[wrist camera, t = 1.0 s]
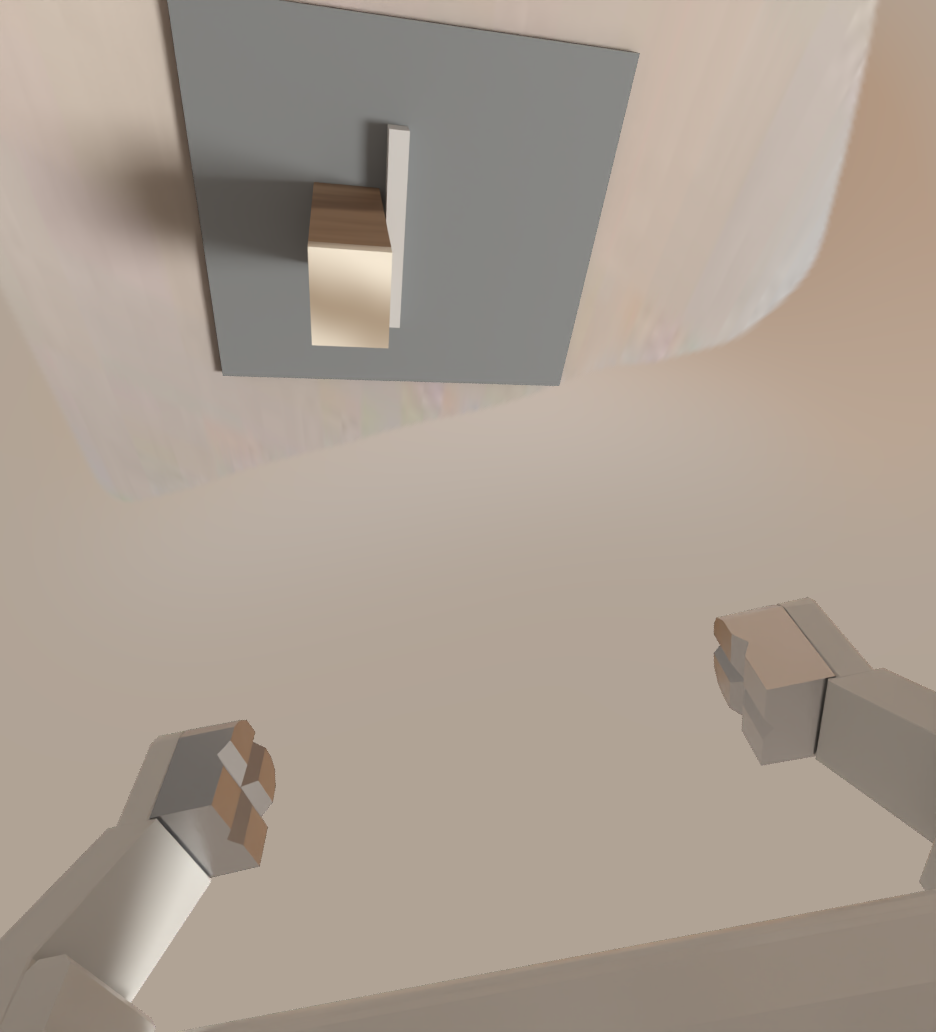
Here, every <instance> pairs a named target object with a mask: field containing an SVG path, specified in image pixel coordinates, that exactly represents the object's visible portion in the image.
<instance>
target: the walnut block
mask: <svg viewBox="0 0 936 1032" xmlns="http://www.w3.org/2000/svg"><path fill="white" fill-rule="evenodd" d="M308 268H309V291H310V313H311V336H312V345H317V346H342V347H367V348H388V347H389V323H390V299H391V275H392V248H391V243H390V239H389V234H388V229H387V224H386V219H385V214H384V209H383V204H382V200H381V195H380V190H379V188H374V187H363V186H352V185H341V184H330V183H319V182H314V185H313V195H312V206H311V216H310V226H309V237H308Z"/></svg>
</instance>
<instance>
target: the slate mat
mask: <svg viewBox="0 0 936 1032" xmlns="http://www.w3.org/2000/svg"><path fill="white" fill-rule="evenodd" d="M167 3H168V9H169V16H170V23H171V30H172V36H173V43H174V50H175V57H176V63H177V70H178V77H179V84H180V90H181V97H182V104H183V110H184V117H185V124H186V131H187V137H188V144H189V151H190V158H191V164H192V171H193V178H194V185H195V191H196V198H197V205H198V212H199V218H200V225H201V232H202V239H203V245H204V252H205V259H206V265H207V272H208V279H209V286H210V292H211V299H212V306H213V313H214V319H215V326H216V333H217V340H218V346H219V353H220V360H221V367H222V373H223V376H248V377H281V378H314V379H347V380H380V381H413V382H446V383H479V384H512V385H545V386H559V385H560V380H561V376H562V372H563V368H564V364H565V360H566V356H567V352H568V347H569V343H570V339H571V335H572V331H573V327H574V323H575V318H576V314H577V310H578V306H579V302H580V298H581V294H582V290H583V285H584V281H585V277H586V273H587V269H588V265H589V261H590V257H591V252H592V248H593V244H594V240H595V236H596V232H597V228H598V224H599V219H600V215H601V211H602V207H603V203H604V199H605V195H606V191H607V186H608V182H609V178H610V174H611V170H612V166H613V162H614V158H615V153H616V149H617V145H618V141H619V137H620V133H621V129H622V124H623V120H624V116H625V112H626V108H627V104H628V100H629V96H630V91H631V87H632V83H633V79H634V75H635V71H636V67H637V63H638V58H639V54H640V53H636V52H629V51H622V50H616V49H609V48H602V47H595V46H589V45H582V44H575V43H568V42H562V41H555V40H548V39H541V38H534V37H528V36H521V35H514V34H507V33H501V32H494V31H487V30H480V29H474V28H467V27H460V26H453V25H446V24H440V23H433V22H426V21H419V20H413V19H406V18H399V17H392V16H385V15H379V14H372V13H365V12H358V11H352V10H345V9H338V8H331V7H325V6H318V5H311V4H304V3H297V2H291V1H284V0H167ZM314 182H319V183H330V184H341V185H352V186H363V187H374V188H379V190H380V195H381V200H382V204H383V209H384V214H385V219H386V224H387V229H388V234H389V239H390V243H391V248H392V275H391V299H390V323H389V347H388V348H367V347H342V346H317V345H312V336H311V313H310V291H309V268H308V237H309V226H310V216H311V206H312V195H313V185H314Z"/></svg>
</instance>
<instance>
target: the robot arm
mask: <svg viewBox="0 0 936 1032" xmlns="http://www.w3.org/2000/svg"><path fill="white" fill-rule="evenodd" d="M714 635H715V637H716V639H717V641H718V642H719V644H720V646H719V647H718V649H717V650H716V651H715V652H714V668H715V672H716V676H717V681H718V684H719V686H720V689H721V691H722V694H723V696H724V698H725V700H726V702H727V704H728V706H729V707H730V708H731V709H732V710H734V711H736V712H737V713H739V714H741V715H742V732H743V733H744V735H745V737H746V739H747V741H748V743H749V744H750V746H751V748H752V750H753V752H754V753H755V755H756V757H757V759H758V760H759V762H760V764H761V765H766V764H772V763H778V762H784V761H790V760H796V759H802V758H807V757H813V756H816V760H818V761H819V762H821V763H822V764H823V765H825V766H826V767H828V768H829V769H830V770H832V771H833V772H834V773H836V774H837V775H839V776H840V777H841V778H843V779H845V780H846V781H847V782H848V783H850V784H851V785H853V786H854V787H855V788H857V789H858V790H860V791H861V792H862V793H864V794H865V795H867V796H868V797H869V798H871V799H872V800H874V801H875V802H876V803H878V804H879V805H881V806H882V807H883V808H885V809H886V810H887V811H889V812H891V813H892V814H893V815H894V816H896V817H897V818H899V819H900V820H901V821H903V822H904V823H906V824H907V825H908V826H910V827H911V828H913V829H914V830H915V831H917V832H918V833H919V834H921V835H922V836H924V837H925V838H927V839H928V840H929V841H931V842H932V843H933V845H932V848H931V850H930V853H929V856H928V859H927V861H926V864H925V867H924V870H923V872H922V875H921V878H920V881H919V882H920V884H921V885H922V887H923V888H924V889H925V891H921V892H916V893H910V894H905V895H900V896H895V897H889V898H884V899H879V900H873V901H868V902H863V903H857V904H852V905H847V906H841V907H836V908H831V909H825V910H821V911H815V912H810V913H805V914H799V915H794V916H788V917H783V918H778V919H772V920H767V921H762V922H756V923H751V924H746V925H740V926H735V927H730V928H724V929H719V930H714V931H708V932H703V933H698V934H693V935H688V936H682V937H677V938H672V939H666V940H661V941H656V942H650V943H645V944H640V945H634V946H630V947H623V948H618V949H613V950H608V951H602V952H597V953H591V954H586V955H581V956H575V957H570V958H565V959H559V960H554V961H549V962H544V963H538V964H533V965H528V966H522V967H517V968H512V969H506V970H501V971H496V972H490V973H485V974H480V975H475V976H469V977H464V978H458V979H453V980H448V981H442V982H437V983H432V984H427V985H422V986H416V987H411V988H405V989H400V990H395V991H389V992H384V993H379V994H373V995H369V996H363V997H358V998H352V999H347V1000H342V1001H336V1002H331V1003H326V1004H321V1005H315V1006H310V1007H305V1008H299V1009H295V1010H289V1011H284V1012H278V1013H273V1014H267V1015H262V1016H257V1017H252V1018H246V1019H241V1020H236V1021H230V1022H226V1023H220V1024H215V1025H209V1026H204V1027H199V1028H193V1029H188V1030H183V1031H177V1032H936V692H935V691H933V690H931V689H928V688H926V687H924V686H922V685H920V684H917V683H915V682H913V681H911V680H909V679H906V678H904V677H902V676H900V675H898V674H896V673H893V672H891V671H889V670H887V669H885V668H880V669H873V668H872V667H871V666H870V665H869V664H868V662H867V661H866V660H865V659H864V658H863V657H862V655H861V654H860V653H859V652H858V651H857V650H856V648H855V647H854V646H853V645H852V644H851V643H850V642H849V640H848V639H847V638H846V637H845V636H844V634H843V633H842V632H841V631H840V630H839V629H838V627H837V626H836V625H835V624H834V623H833V621H832V620H831V619H830V618H829V617H828V616H827V614H826V613H825V612H824V611H823V610H822V609H821V607H820V606H819V605H818V604H817V603H816V601H815V600H813V599H811V598H808V597H806V598H802V599H797V600H793V601H788V602H784V603H779V604H777V605H769V606H765V607H761V608H756V609H752V610H747V611H743V612H739V613H734V614H729V615H725V616H721V617H717V618H716V620H715V622H714ZM254 735H255V731H254V729H253V728H252V727H251V725H250V724H249V723H248V721H247V720H238V721H233V722H228V723H223V724H217V725H212V726H206V727H201V728H196V729H190V730H186V731H182V732H177V733H171V734H166V735H161V736H158V737H157V738H156V739H155V740H154V741H153V742H152V743H151V745H150V747H149V750H148V752H147V754H146V757H145V760H144V762H143V764H142V766H141V769H140V771H139V773H138V776H137V778H136V781H135V783H134V786H133V788H132V790H131V793H130V795H129V797H128V800H127V802H126V805H125V807H124V809H123V812H122V814H121V816H120V819H119V822H118V824H117V826H116V827H112V828H108V829H107V830H106V831H105V832H104V833H103V834H102V835H101V836H100V837H99V838H98V839H97V840H96V841H95V842H94V843H93V844H92V845H91V846H90V847H89V848H88V849H87V850H86V851H85V852H84V853H83V854H82V855H81V857H80V858H79V859H78V860H77V861H76V862H75V863H74V864H73V865H72V866H71V867H70V868H69V869H68V870H67V871H66V872H65V873H64V874H63V875H62V876H61V877H60V878H59V879H58V880H57V881H56V882H55V883H54V884H53V885H52V886H51V887H50V888H49V889H48V890H47V891H46V892H45V894H43V896H41V898H40V899H39V900H38V901H37V902H36V903H35V904H34V905H33V906H32V907H31V908H30V909H29V910H28V911H27V912H26V913H25V914H24V915H23V916H22V917H21V918H20V919H19V920H18V921H17V922H16V923H15V924H14V925H13V926H12V927H11V928H10V929H9V930H8V931H7V932H6V933H5V935H4V936H3V937H2V938H1V939H0V1032H154V1031H155V1027H156V1026H155V1024H154V1022H153V1020H152V1018H151V1017H149V1016H148V1015H146V1014H145V1013H144V1012H142V1011H141V1010H140V1009H138V1008H137V1007H136V1006H134V1005H133V1004H132V1003H131V1002H132V1000H133V998H134V997H135V995H136V994H137V992H138V991H139V989H140V988H141V986H142V985H143V983H144V982H145V980H146V979H147V977H148V976H149V974H150V973H151V971H152V970H153V968H154V967H155V965H156V964H157V962H158V961H159V959H160V958H161V956H162V955H163V953H164V952H165V950H166V949H167V947H168V946H169V944H170V943H171V941H172V939H173V938H174V936H175V935H176V934H177V932H178V931H179V929H180V928H181V926H182V925H183V923H184V922H185V920H186V919H187V917H188V915H189V914H190V912H191V911H192V909H193V908H194V906H195V905H196V903H197V902H198V900H199V899H200V897H201V896H202V894H203V893H204V891H205V890H206V888H207V887H208V885H209V884H210V882H211V879H210V878H212V877H216V876H220V875H225V874H229V873H233V872H238V871H242V870H246V869H251V868H255V867H259V866H260V863H261V858H262V853H263V848H264V843H265V839H266V833H267V829H268V827H267V825H266V823H265V822H264V820H263V818H262V815H263V814H264V813H265V811H266V810H267V809H268V808H269V806H270V805H271V804H272V803H273V798H274V792H275V787H276V783H275V768H274V765H273V761H272V758H271V756H270V754H269V753H268V751H267V749H266V748H265V747H263V746H261V745H258V744H256V743H254V742H253V739H254Z"/></svg>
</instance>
